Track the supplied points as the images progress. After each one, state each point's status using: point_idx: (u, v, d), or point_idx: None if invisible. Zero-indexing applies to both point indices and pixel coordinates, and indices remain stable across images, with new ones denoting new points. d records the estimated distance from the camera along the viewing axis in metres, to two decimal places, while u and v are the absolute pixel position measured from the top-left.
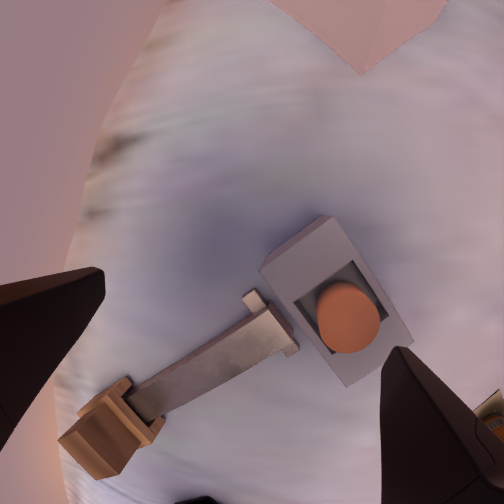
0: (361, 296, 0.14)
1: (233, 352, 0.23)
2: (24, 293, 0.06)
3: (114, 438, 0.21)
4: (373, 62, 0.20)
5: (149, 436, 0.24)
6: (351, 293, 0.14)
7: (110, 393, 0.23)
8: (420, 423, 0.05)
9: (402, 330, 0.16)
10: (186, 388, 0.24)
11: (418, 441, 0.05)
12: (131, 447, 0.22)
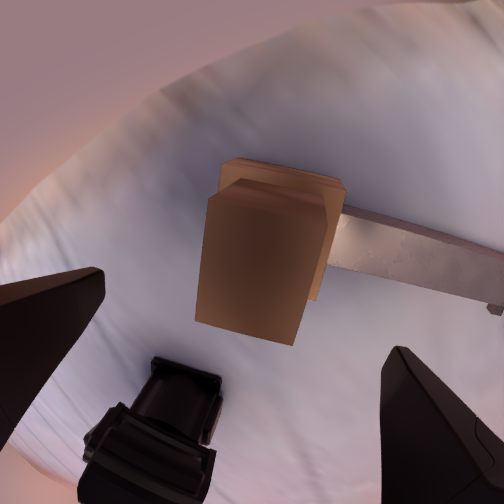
0: None
1: (496, 279, 0.15)
2: (24, 293, 0.06)
3: None
4: None
5: None
6: None
7: None
8: (420, 423, 0.05)
9: None
10: (427, 270, 0.16)
11: (418, 441, 0.05)
12: None
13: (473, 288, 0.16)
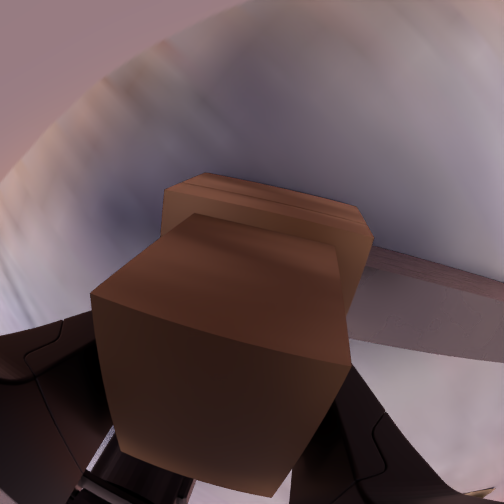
0: None
1: None
2: None
3: None
4: None
5: None
6: None
7: None
8: None
9: None
10: (470, 336, 0.10)
11: (316, 431, 0.05)
12: None
13: None
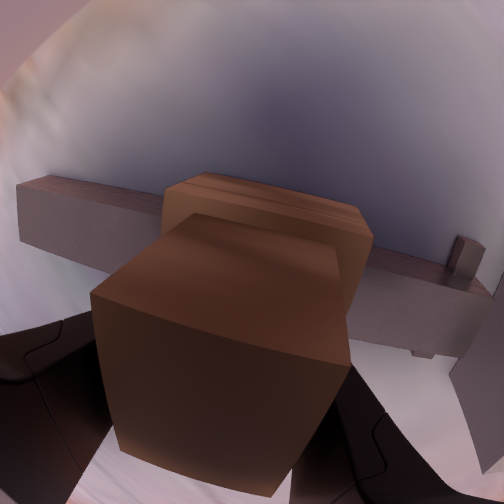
0: None
1: (401, 309, 0.10)
2: None
3: None
4: None
5: None
6: None
7: None
8: None
9: None
10: None
11: (316, 431, 0.05)
12: None
13: (353, 322, 0.11)
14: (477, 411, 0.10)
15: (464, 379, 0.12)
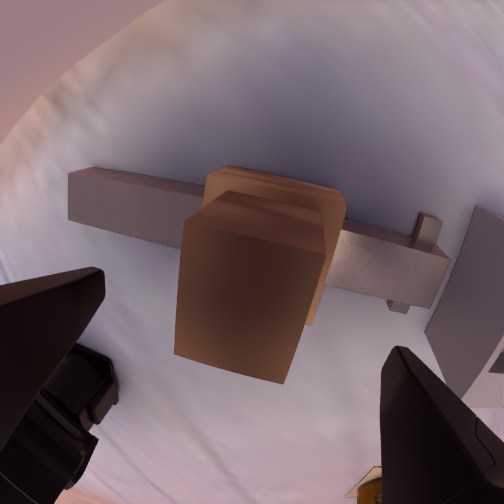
0: None
1: (374, 264, 0.15)
2: (24, 293, 0.06)
3: None
4: None
5: None
6: None
7: None
8: (420, 423, 0.05)
9: None
10: None
11: (418, 441, 0.05)
12: None
13: (338, 274, 0.15)
14: (447, 356, 0.14)
15: (436, 333, 0.17)
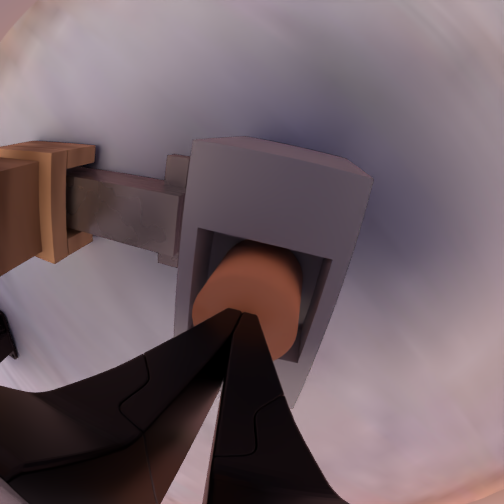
0: (293, 308, 0.08)
1: (104, 206, 0.15)
2: (189, 361, 0.05)
3: (11, 226, 0.12)
4: None
5: (60, 251, 0.15)
6: (286, 290, 0.08)
7: (57, 154, 0.13)
8: (222, 389, 0.06)
9: (293, 389, 0.11)
10: None
11: None
12: (24, 252, 0.13)
13: (81, 219, 0.15)
14: None
15: None
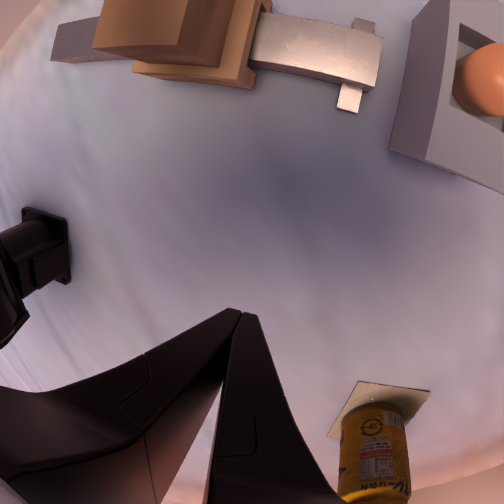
0: None
1: (301, 38, 0.13)
2: (189, 361, 0.05)
3: (214, 14, 0.10)
4: None
5: (241, 71, 0.13)
6: None
7: None
8: (222, 389, 0.06)
9: None
10: None
11: None
12: (211, 52, 0.12)
13: (267, 49, 0.14)
14: (408, 135, 0.13)
15: (397, 134, 0.15)
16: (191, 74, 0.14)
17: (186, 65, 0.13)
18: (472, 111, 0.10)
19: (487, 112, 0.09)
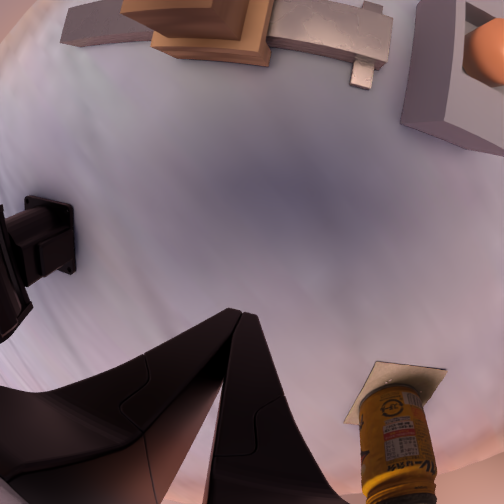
0: None
1: (317, 17, 0.13)
2: (189, 361, 0.05)
3: None
4: None
5: (261, 45, 0.13)
6: None
7: None
8: (222, 389, 0.06)
9: None
10: None
11: None
12: (235, 24, 0.11)
13: (284, 26, 0.14)
14: (422, 105, 0.13)
15: (409, 108, 0.15)
16: (212, 47, 0.13)
17: (207, 38, 0.13)
18: (480, 81, 0.10)
19: (495, 80, 0.09)
